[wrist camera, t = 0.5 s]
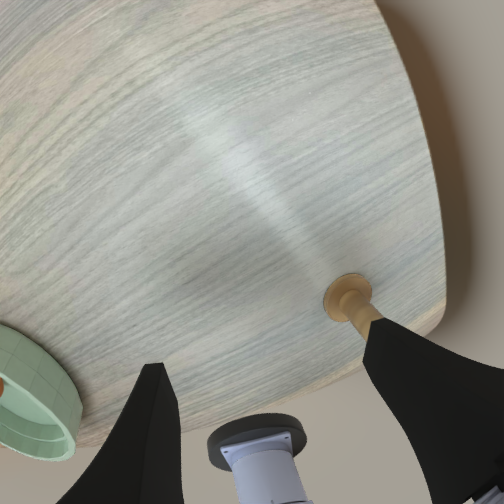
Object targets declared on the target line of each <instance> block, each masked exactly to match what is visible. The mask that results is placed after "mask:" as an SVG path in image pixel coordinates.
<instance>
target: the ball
mask: <svg viewBox="0 0 504 504" xmlns="http://www.w3.org/2000/svg"><path fill="white" fill-rule="evenodd" d="M3 391H4V383H3V380H2V378H1V377H0V397H1V396H2V394H3Z"/></svg>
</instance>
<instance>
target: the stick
mask: <svg viewBox="0 0 504 504" xmlns="http://www.w3.org/2000/svg"><path fill="white" fill-rule="evenodd" d="M371 296H372V289H371V285H370V283H369V282H368V281H367V280H366V279H365V278H364V277H362V276H361V275H358V274H347V275H344V276H342V277H340V278H338V279H337V280H336V281H334V282H333V283H332V284H331V286H330V287H329V288H328V290H327V292H326V294H325V297H324V309H325V311H326V313H327V314H328V315H329V317H330V318H331V319H333V320H335V321H338V322H346V321H350V322H351V323H352V325H353V326H354V327H355V328H356V330H357V331H358V332H359V334H360V335H361V336H362V337H363V339H364V340H365V341H366V343H367V339H368V334H369V329H370V324H371V321H374V320H378V319H381V318H384V317H383V315H382V314H381V313H380V312H379V311H378V310H377V309H376V308H375V307H374V306H373V305H372V304H371V303H370V300H371Z"/></svg>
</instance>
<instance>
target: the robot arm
mask: <svg viewBox="0 0 504 504" xmlns="http://www.w3.org/2000/svg"><path fill="white" fill-rule="evenodd" d="M362 362H363V364H364V366H365V368H366V371H367V373H368V375H369V377H370V379H371V381H372V383H373V384H374V386H375V387H376V389H377V391H378V392H379V394H380V395H381V397H382V398H383V400H384V401H385V402H386V404H387V405H388V407H389V408H390V410H391V411H392V413H393V414H394V416H395V417H396V419H397V420H398V422H399V423H400V425H401V426H402V428H403V430H404V431H405V433H406V435H407V437H408V439H409V441H410V443H411V445H412V447H413V449H414V451H415V454H416V456H417V459H418V461H419V463H420V466H421V468H422V471H423V474H424V477H425V479H426V482H427V485H428V488H429V492H430V496H431V500H432V503H433V504H463V503H465V502H466V501H467V500H469V499H470V498H471V497H472V499H473V501H474V503H473V504H504V369H500V368H496V367H492V366H489V365H485V364H482V363H479V362H476V361H474V360H471V359H468V358H466V357H463V356H461V355H458V354H456V353H454V352H452V351H450V350H447V349H445V348H443V347H441V346H439V345H437V344H435V343H433V342H431V341H429V340H427V339H425V338H424V337H422V336H420V335H418V334H416V333H414V332H412V331H410V330H409V329H407V328H405V327H403V326H401V325H399V324H397V323H395V322H393V321H391V320H389V319H387V318H385V317H384V318H381V319H378V320H374V321H371V324H370V329H369V334H368V339H367V344H366V348H365V353H364V357H363V361H362ZM220 450H221V452H222V454H223V456H224V457H225V459H226V461H227V462H228V464H229V466H230V468H231V469H232V471H233V475H234V480H235V485H236V490H237V494H238V498H239V503H240V504H313V502H312V500H310V501H308V499H307V496H306V493H305V490H304V488H303V485H302V483H301V480H300V477H299V474H298V472H297V469H296V466H295V463H294V459H293V451H292V443H291V434H290V432H289V431H285V432H281V433H278V434H274V435H270V436H266V437H262V438H258V439H254V440H250V441H245V442H241V443H236V444H231V445H226V446H222V447H221V448H220ZM56 504H184V499H183V493H182V481H181V426H180V417H179V409H178V401H177V398H176V396H175V393H174V391H173V388H172V386H171V383H170V380H169V378H168V375H167V372H166V369H165V367H164V364H163V362H162V363H153V364H145V365H144V366H143V368H142V370H141V372H140V375H139V377H138V379H137V381H136V384H135V386H134V388H133V390H132V392H131V394H130V396H129V398H128V400H127V402H126V404H125V406H124V408H123V410H122V412H121V414H120V416H119V418H118V420H117V422H116V423H115V425H114V427H113V429H112V430H111V432H110V434H109V436H108V438H107V439H106V441H105V442H104V444H103V446H102V447H101V449H100V450H99V452H98V453H97V455H96V456H95V458H94V459H93V461H92V462H91V463H90V465H89V466H88V467H87V469H86V470H85V471H84V473H83V474H82V475H81V477H80V478H79V479H78V480H77V482H76V483H75V484H74V485H73V486H72V487H71V488H70V489H69V490H68V492H67V493H66V494H65V495H64V496H63V497H62V498H61V499H60V500H59V501H58V502H57V503H56Z"/></svg>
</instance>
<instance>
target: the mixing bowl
mask: <svg viewBox="0 0 504 504" xmlns="http://www.w3.org/2000/svg"><path fill="white" fill-rule="evenodd" d="M0 377H1V378H2V380H3V383H4V391H3V394H2V396H1V397H0V444H2V445H4V446H6V447H8V448H10V449H12V450H14V451H16V452H18V453H20V454H22V455H25V456H28V457H32V458H35V459H38V460H45V461H54V462H56V461H63V460H67V459H69V458H70V457H71V456H73V455H74V454H75V451H76V445H77V439H78V434H79V429H80V424H81V419H82V411H83V406H82V403H81V400H80V398H79V395H78V392H77V389H76V387H75V385H74V383H73V382H72V380H71V379H70V377H69V376H68V374H67V373H66V372H65V370H64V369H63V368H62V367H61V366H60V365H59V364H58V362H56V361H55V360H54V359H53V358H52V357H51V356H50V355H49V354H48V353H47V352H46V351H45V350H43V349H42V348H41V347H40V346H38V345H37V344H36V343H35V342H33V341H32V340H30V339H29V338H27V337H26V336H24V335H22V334H21V333H19V332H17V331H15V330H13V329H11V328H9V327H7V326H4V325H1V324H0Z"/></svg>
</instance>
